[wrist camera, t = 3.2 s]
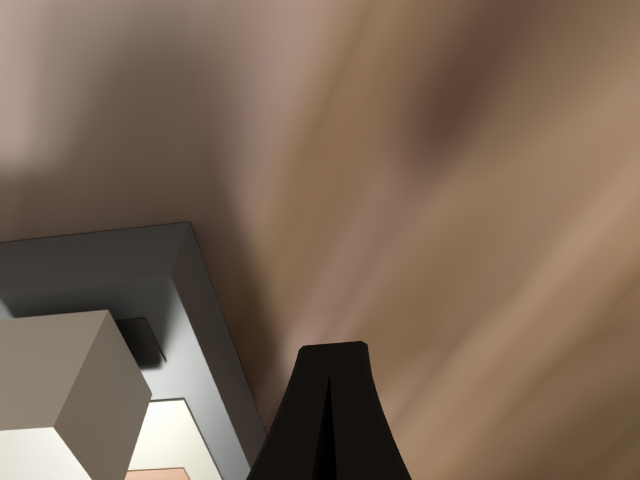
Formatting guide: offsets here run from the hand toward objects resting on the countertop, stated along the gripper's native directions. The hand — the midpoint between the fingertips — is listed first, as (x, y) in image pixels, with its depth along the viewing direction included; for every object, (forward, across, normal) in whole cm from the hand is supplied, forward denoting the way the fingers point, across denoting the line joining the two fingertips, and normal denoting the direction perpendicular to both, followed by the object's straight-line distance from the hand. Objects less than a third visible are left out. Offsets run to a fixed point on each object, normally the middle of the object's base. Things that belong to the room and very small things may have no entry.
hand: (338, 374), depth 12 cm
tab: (+1, +7, 0) cm, 7 cm away
